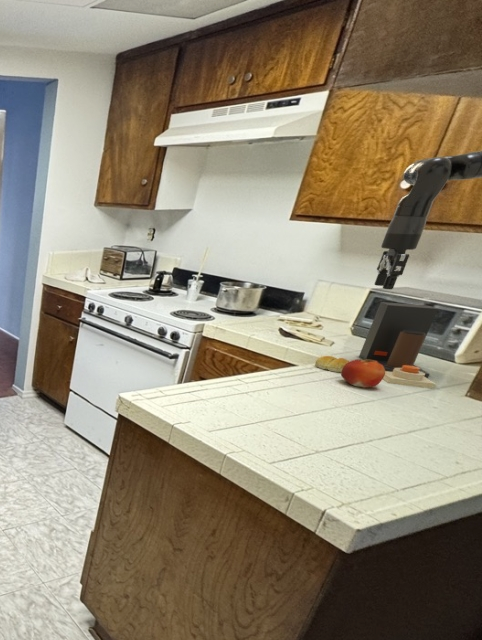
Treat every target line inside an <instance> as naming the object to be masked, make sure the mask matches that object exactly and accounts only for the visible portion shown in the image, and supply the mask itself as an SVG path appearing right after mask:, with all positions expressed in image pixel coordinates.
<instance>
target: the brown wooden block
mask: <svg viewBox="0 0 482 640" xmlns="http://www.w3.org/2000/svg"><path fill="white" fill-rule="evenodd" d="M427 335H428V334H427ZM427 335H426V334H425V333H424V332H420V331H415V330H403V331H400V334H399V336H398V338H397V341H396V343H395V345H394V348H393V350H392V352H391V355H390V357H389V359H388V362H387V365H388V366H391V367H395V368H402V366H403V365H410V366H413V365H415V362H416V360H417V357H418V355H419V353H420V351H421V349H422V346H423V345H424V342H425V340H426V338H427Z"/></svg>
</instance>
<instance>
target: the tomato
mask: <svg viewBox="0 0 482 640" xmlns="http://www.w3.org/2000/svg"><path fill="white" fill-rule="evenodd" d="M340 376H341V377H342V379H344V381H346V383H348V384H349V385H351V386H354V387H359V388H364V389H365V388H367V389H368V388H374V387H377V386H378V385H379V384H380V383H381V382H382V381H383V377H384V376H385V369H384V367H383V365H382V364H380V363H378V362H377V361H374V360H370V359H367V360H363V359H361V358H360V359H353V360H349V362H348V363H347V364H345V366H344V367H343V369H342V371H341V372H340Z"/></svg>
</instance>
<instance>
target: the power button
mask: <svg viewBox="0 0 482 640" xmlns="http://www.w3.org/2000/svg"><path fill="white" fill-rule="evenodd" d="M415 366H416V365H415ZM415 366H410V365H403V366H402V369H401V371H404V372H408V373H415V374H418V371H419V369H421V368H420V367H418V366H417V367H415Z"/></svg>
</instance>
